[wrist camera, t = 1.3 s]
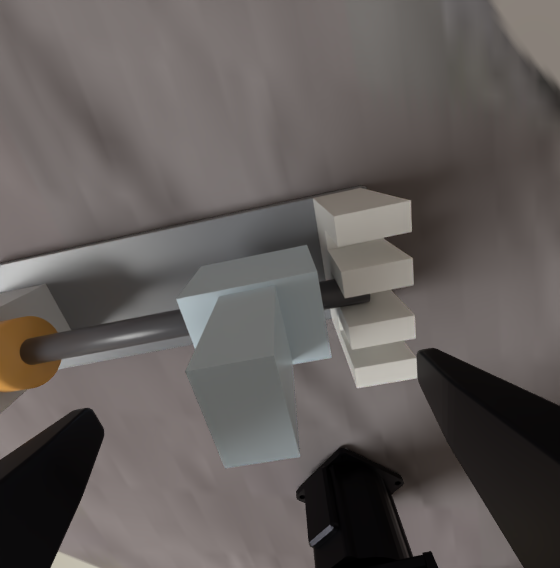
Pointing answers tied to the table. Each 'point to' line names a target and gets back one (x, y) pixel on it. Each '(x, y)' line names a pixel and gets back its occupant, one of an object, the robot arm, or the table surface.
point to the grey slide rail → (180, 270)
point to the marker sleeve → (253, 349)
